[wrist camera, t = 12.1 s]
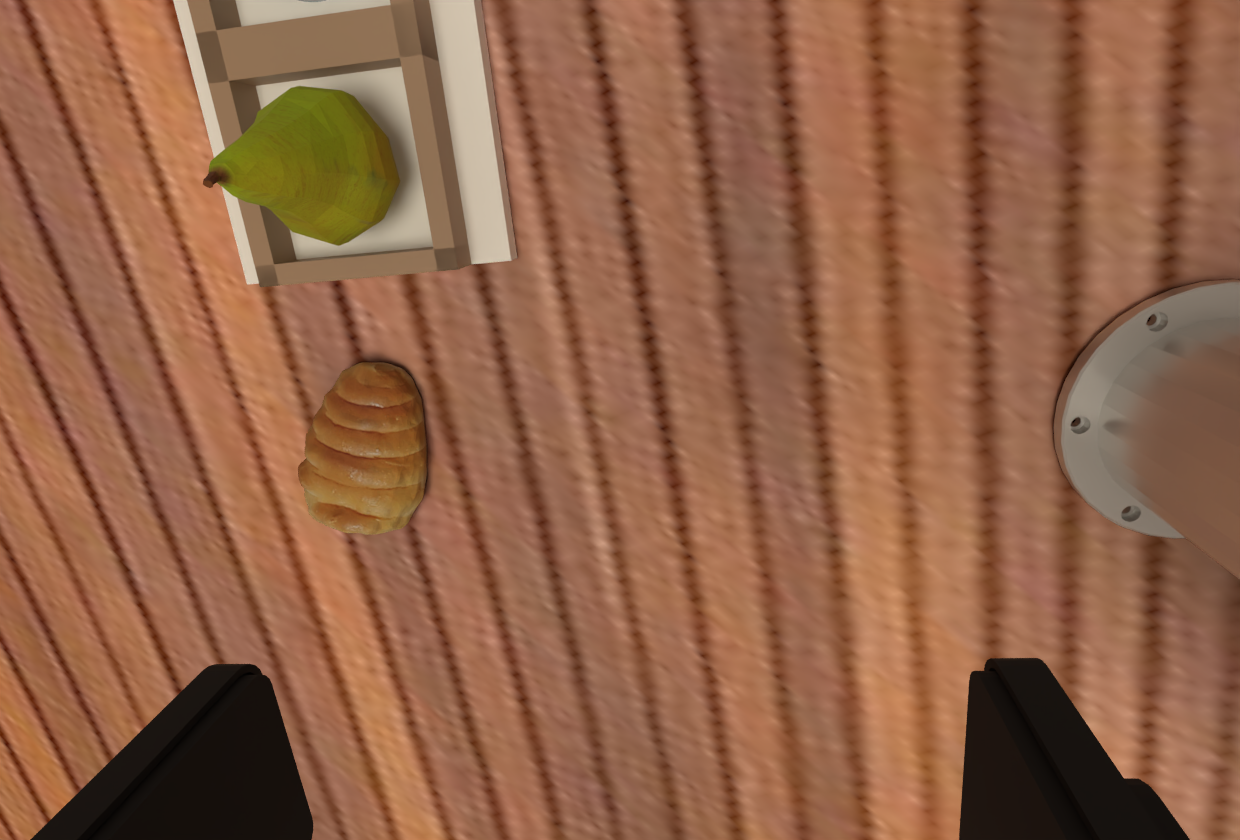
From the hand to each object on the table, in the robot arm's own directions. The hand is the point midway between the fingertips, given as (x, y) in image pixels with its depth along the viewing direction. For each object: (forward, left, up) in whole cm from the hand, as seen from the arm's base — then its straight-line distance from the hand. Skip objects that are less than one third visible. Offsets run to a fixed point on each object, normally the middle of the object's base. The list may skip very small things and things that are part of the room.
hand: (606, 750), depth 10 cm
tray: (+15, -14, -28) cm, 35 cm away
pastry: (+18, +6, -29) cm, 34 cm away
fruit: (+15, -9, -27) cm, 32 cm away
